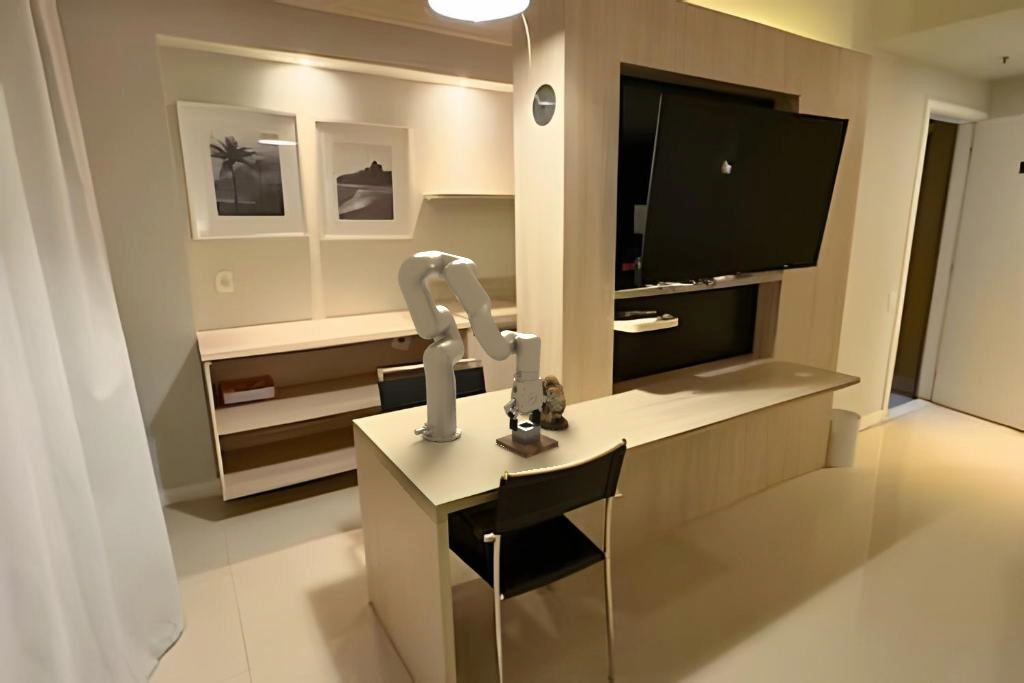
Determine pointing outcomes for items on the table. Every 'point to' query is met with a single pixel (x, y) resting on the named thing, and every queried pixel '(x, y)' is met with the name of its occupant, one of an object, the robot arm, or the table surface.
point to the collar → (527, 433)
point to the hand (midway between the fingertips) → (524, 426)
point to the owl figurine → (552, 405)
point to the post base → (530, 449)
